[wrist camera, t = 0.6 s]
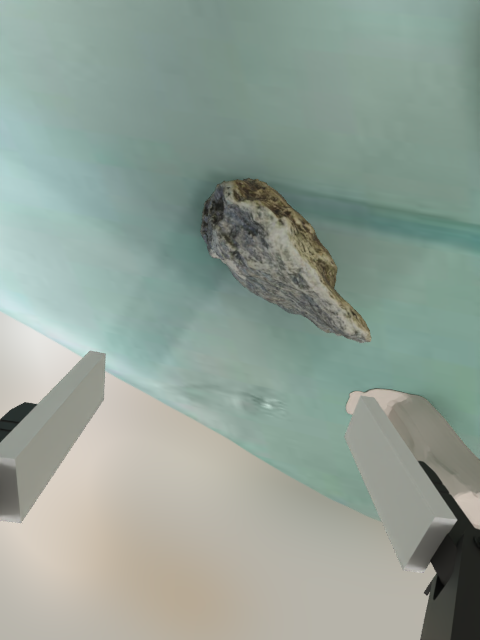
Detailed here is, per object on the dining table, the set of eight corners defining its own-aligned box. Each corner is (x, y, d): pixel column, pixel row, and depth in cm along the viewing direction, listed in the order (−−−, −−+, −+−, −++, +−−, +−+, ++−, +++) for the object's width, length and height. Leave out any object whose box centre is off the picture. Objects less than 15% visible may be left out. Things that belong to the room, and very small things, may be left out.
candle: (354, 381, 47) (432, 501, 28) (439, 399, 48) (567, 526, 29) (338, 419, 49) (399, 553, 30) (418, 436, 50) (525, 574, 32)
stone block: (191, 228, 39) (148, 254, 20) (238, 169, 36) (240, 135, 18) (295, 319, 43) (339, 409, 24) (343, 271, 41) (433, 329, 22)
